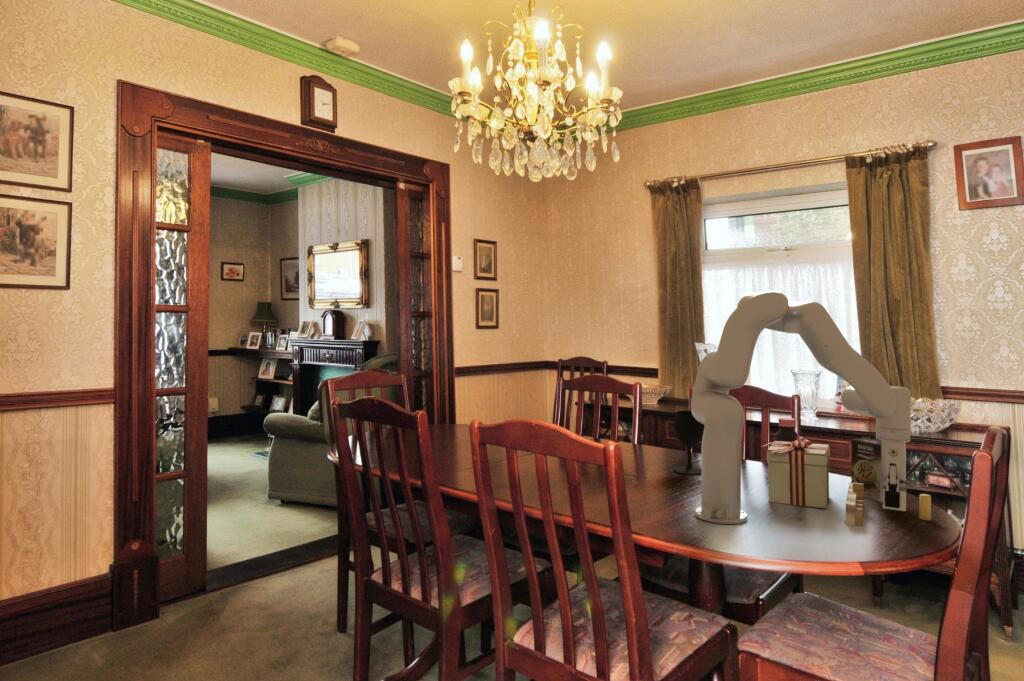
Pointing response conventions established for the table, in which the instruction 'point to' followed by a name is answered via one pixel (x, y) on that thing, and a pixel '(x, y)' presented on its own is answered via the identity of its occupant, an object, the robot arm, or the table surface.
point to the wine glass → (688, 438)
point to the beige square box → (902, 497)
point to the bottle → (786, 430)
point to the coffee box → (868, 467)
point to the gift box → (798, 473)
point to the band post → (925, 507)
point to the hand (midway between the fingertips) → (892, 504)
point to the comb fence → (854, 504)
